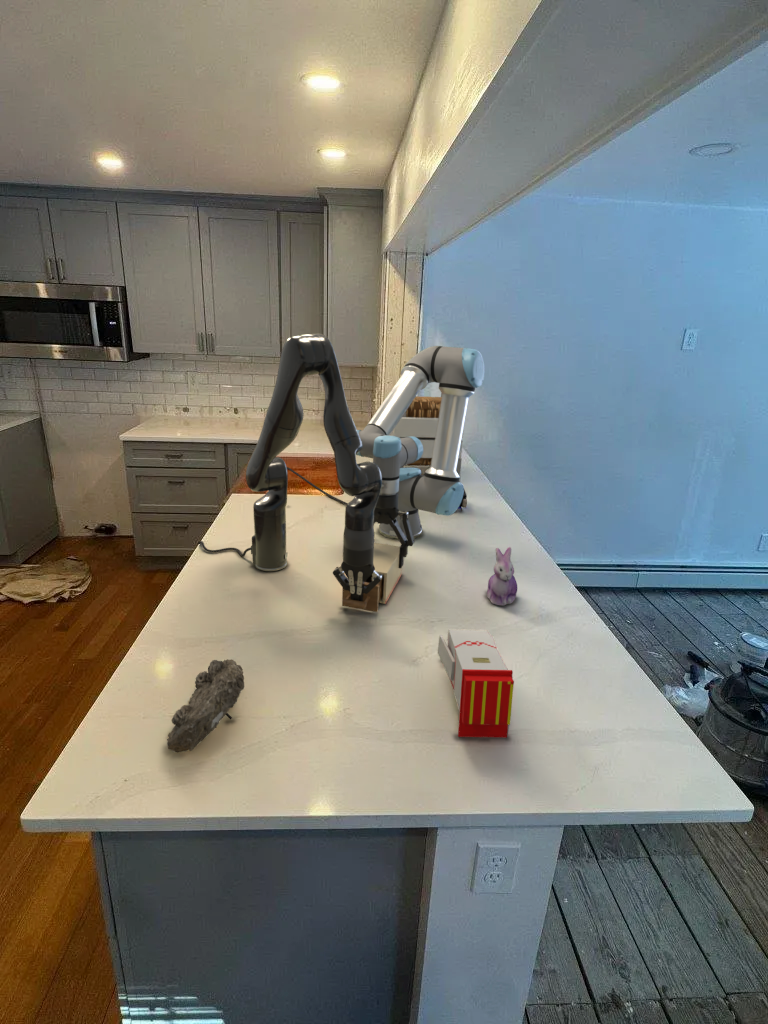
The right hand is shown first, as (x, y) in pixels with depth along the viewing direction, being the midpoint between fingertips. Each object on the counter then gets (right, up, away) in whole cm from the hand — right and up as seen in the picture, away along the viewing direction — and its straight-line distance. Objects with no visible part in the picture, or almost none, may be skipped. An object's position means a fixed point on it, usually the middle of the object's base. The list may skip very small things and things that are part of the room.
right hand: (381, 563), depth 166 cm
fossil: (-32, -24, -58) cm, 70 cm away
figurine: (+33, -9, -8) cm, 36 cm away
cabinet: (-2, -6, -4) cm, 8 cm away
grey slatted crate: (+18, +34, +109) cm, 116 cm away
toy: (+18, -23, -47) cm, 56 cm away
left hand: (-6, -9, -22) cm, 24 cm away
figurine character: (+30, +17, +63) cm, 72 cm away
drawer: (-4, -8, -13) cm, 16 cm away
